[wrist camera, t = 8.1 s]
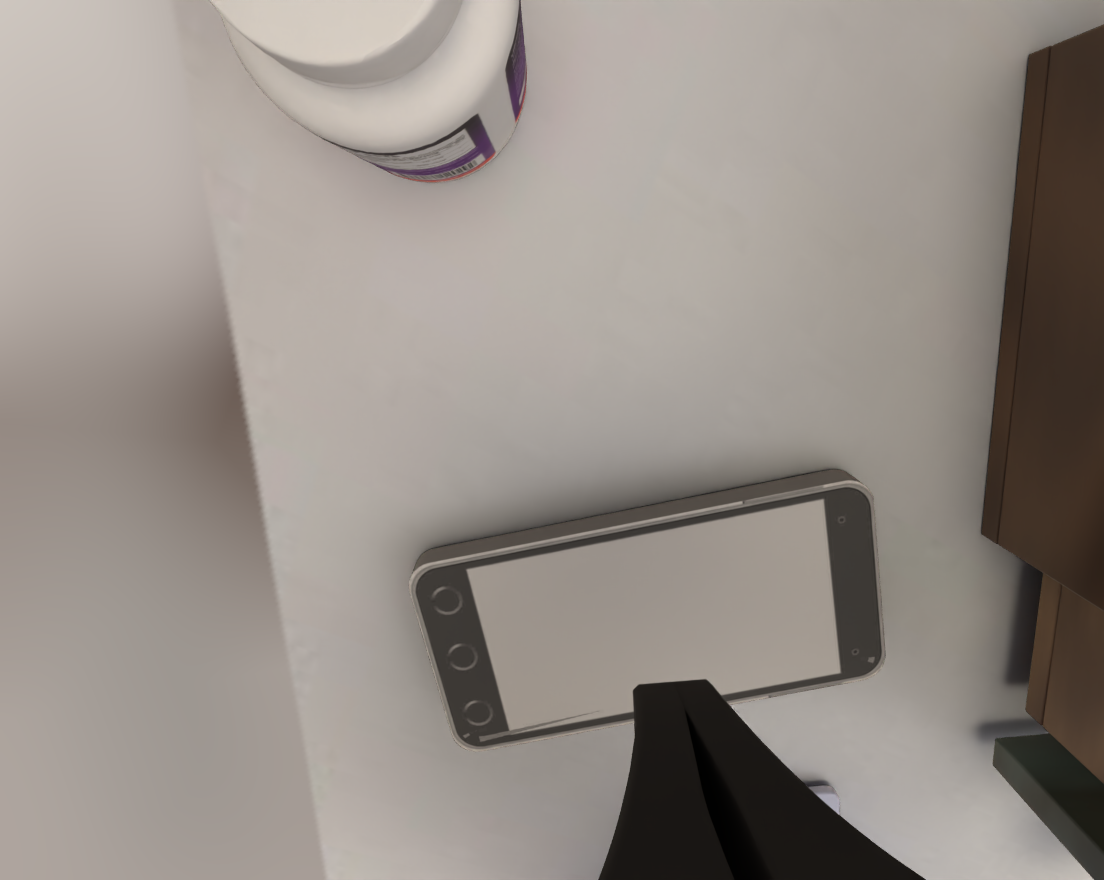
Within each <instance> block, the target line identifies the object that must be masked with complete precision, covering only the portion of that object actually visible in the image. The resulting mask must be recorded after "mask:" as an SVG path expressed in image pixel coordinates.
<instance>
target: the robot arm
mask: <svg viewBox="0 0 1104 880" xmlns="http://www.w3.org/2000/svg"><path fill="white" fill-rule="evenodd" d="M633 707H634V727H635V739H634V746H633V753H632V760H631V767H630V772H629V777H628V782H627V786H626V790H625V795H624V799H623V803H622V808H621V812H620V815H619V819H618V823H617V826H616V830H615V833H614V836H613V839H612V842H611V845H610V849H609V852H608V855H607V858H606V861H605V863H604V866H603V869H602V871H601V874H600V877H599V879H598V880H926V879H924V878H923V877H921V876H920V875H918V874H917V873H915V872H914V871H912V870H911V869H910V868H908V867H907V866H905V865H904V864H902V863H901V862H899V861H898V860H896V859H895V858H894V857H892V856H891V855H890V854H888V853H887V852H886V851H884V850H883V849H881V848H880V847H879V846H877V845H876V844H875V843H873V842H872V841H871V840H870V839H868V838H867V837H866V836H865V835H863V834H862V833H861V832H859V831H858V830H857V829H856V828H854V827H853V826H852V825H851V824H849V823H848V822H847V821H846V820H845V819H843V818H842V817H841V816H840V798H839V796H838V794H837V792H836V791H835V789H834V788H833V787H830V786H825V785H823V786H811V787H807V786H806V785H805V784H804V783H803V782H802V781H801V780H800V779H799V778H798V777H797V776H796V775H795V774H794V773H793V772H792V771H791V770H790V769H789V768H787V767H786V766H785V765H784V764H783V763H782V761H781V760H780V759H779V758H778V757H777V756H776V755H775V754H774V753H773V752H772V751H771V750H770V749H769V748H768V747H767V746H766V745H765V744H764V743H763V742H762V741H761V740H760V739H759V738H758V737H757V736H756V735H755V733H754V732H753V731H752V730H751V729H750V728H749V727H748V726H747V725H746V724H745V722H744V721H743V720H742V719H741V718H740V717H739V716H738V715H737V713H736V712H735V711H734V710H733V709H732V708H731V706H730V705H729V704H728V703H727V702H726V701H725V699H724V698H723V697H722V696H721V695H720V693H719V692H718V691H717V690H716V688H715V687H714V686H713V685H712V684H711V683H710V682H709V681H708V680H707V679H699V680H687V681H674V682H661V683H648V684H638V685H637V686H636V687H635V688H634V689H633Z"/></svg>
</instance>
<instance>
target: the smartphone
mask: <svg viewBox="0 0 1104 880" xmlns="http://www.w3.org/2000/svg"><path fill="white" fill-rule="evenodd" d="M409 593H410V596H411V599H412V603H413V606H414V609H415V613H416V616H417V620H418V623H419V626H420V630H421V633H422V636H423V640H424V643H425V647H426V650H427V653H428V657H429V660H430V663H431V667H432V670H433V674H434V677H435V680H436V684H437V687H438V690H439V694H440V697H441V700H442V704H443V707H444V711H445V714H446V717H447V721H448V724H449V727H450V731H451V734H452V737H453V739H454V741H455V742H456V743H457V744H458V745H459V746H460V747H462V748H464V749H466V750H469V751H474V752H480V751H486V750H492V749H497V748H502V747H508V746H513V745H518V744H524V743H529V742H534V741H540V740H545V739H551V738H556V737H561V736H567V735H572V734H577V733H583V732H588V731H594V730H599V729H604V728H610V727H615V726H620V725H626V724H631V723H634V707H633V689H634V688H635V687H636V686H637V685H638V684H648V683H661V682H674V681H687V680H699V679H707V680H708V681H709V682H710V683H711V684H712V685H713V686H714V687H715V688H716V690H717V691H718V692H719V693H720V695H721V696H722V697H723V698H724V699H725V701H726V702H727V703H728V704H729V705H733V704H738V703H744V702H749V701H755V700H760V699H765V698H771V697H776V696H781V695H787V694H792V693H797V692H803V691H808V690H814V689H819V688H824V687H830V686H835V685H840V684H846V683H851V682H856V681H862V680H866V679H868V678H870V677H872V676H874V675H875V674H876V673H877V672H878V671H879V670H880V669H881V668H882V666H883V664H884V662H885V656H886V654H885V640H884V627H883V614H882V601H881V588H880V575H879V562H878V549H877V536H876V523H875V510H874V498H873V495H872V493H871V491H870V490H869V488H868V487H867V486H865V485H864V484H863V483H861V482H860V481H858V480H857V479H855V478H854V477H853V476H851V475H850V474H848V473H847V472H845V471H842V470H837V469H832V470H826V471H821V472H816V473H811V474H806V475H801V476H796V477H791V478H786V479H781V480H776V481H771V482H766V483H761V484H756V485H751V486H746V487H741V488H736V489H730V490H725V491H720V492H715V493H710V494H705V495H700V496H695V497H690V498H685V499H680V500H675V501H670V502H665V503H660V504H655V505H650V506H645V507H640V508H635V509H630V510H625V511H620V512H615V513H610V514H605V515H600V516H595V517H590V518H585V519H580V520H575V521H570V522H564V523H559V524H554V525H549V526H544V527H539V528H534V529H529V530H524V531H519V532H514V533H509V534H504V535H499V536H494V537H489V538H484V539H479V540H474V541H469V542H464V543H459V544H454V545H449V546H444V547H439V548H434V549H430V550H428V551H426V552H424V553H423V554H422V555H421V556H420V557H419V559H418V560H417V562H416V565H415V567H414V570H413V572H412V575H411V577H410V580H409Z"/></svg>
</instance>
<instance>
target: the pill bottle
mask: <svg viewBox="0 0 1104 880" xmlns="http://www.w3.org/2000/svg"><path fill="white" fill-rule="evenodd" d="M209 1H210V2H211V3H212V5H213V6H214V7H215V8H216V9H217V11H218V12H219V13H220V14H221V17H222V20H223V23H224V25H225V28H226V30H227V33H228V36H229V38H230V41H231V43H232V45H233V47H234V49H235V51H236V53H237V55H238V57H239V58H240V60H241V62H242V64H243V65H244V67H245V69H246V70H247V72H248V73H249V75H250V76H251V77H252V79H253V80H254V81H255V83H256V84H257V85H258V87H259V88H260V89H261V90H262V92H263V93H264V94H265V95H266V96H267V97H268V98H269V99H270V100H271V101H272V102H273V103H274V104H275V105H276V106H277V107H278V108H279V109H280V110H281V111H282V112H284V113H285V114H286V115H287V116H288V117H290V118H291V119H292V120H294V121H295V122H297V123H298V124H300V125H301V126H303V127H304V128H306V129H307V130H309V131H310V132H312V133H314V134H315V135H317V136H319V137H321V138H323V139H324V140H326V141H328V142H330V143H332V144H334V145H336V146H338V147H340V148H342V149H344V150H346V151H348V152H350V153H352V154H354V155H356V156H357V157H359V158H361V159H363V160H365V161H367V162H369V163H372V164H374V165H376V166H377V167H379V168H382V169H384V170H386V171H387V172H389V173H391V174H394V175H397V176H400V177H402V178H406V179H410V180H414V181H419V182H428V183H437V182H448V181H453V180H457V179H460V178H463V177H466V176H468V175H470V174H472V173H474V172H476V171H478V170H479V169H481V168H482V167H484V166H485V165H487V164H488V163H489V162H490V161H491V160H492V159H494V158H495V157H496V156H497V155H498V153H499V152H500V151H501V150H502V149H503V148H504V146H505V145H506V144H507V142H508V141H509V139H510V137H511V136H512V134H513V132H514V130H515V128H516V125H517V123H518V120H519V117H520V114H521V111H522V108H523V103H524V98H525V92H526V79H527V68H526V56H525V46H524V36H523V26H522V14H521V0H209Z"/></svg>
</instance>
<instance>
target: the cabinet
mask: <svg viewBox="0 0 1104 880" xmlns="http://www.w3.org/2000/svg"><path fill="white" fill-rule="evenodd" d="M982 535H984V536H985V537H987V538H988V539H990V540H991V541H993V542H995V543H996V544H999V545H1000V546H1002V547H1003V548H1005V549H1006V550H1008V551H1009V552H1011V553H1013V554H1014V555H1016V556H1017V557H1019V558H1020V559H1022V560H1024V561H1025V562H1027V563H1028V564H1030V565H1031V566H1033V567H1035V568H1036V569H1038V570H1039V571H1041V572H1042V573H1044V574H1046V575H1047V576H1049V577H1050V578H1052V579H1053V580H1055V581H1057V582H1058V583H1060V584H1061V585H1063V586H1065V587H1066V588H1068V589H1069V590H1071V591H1072V592H1074V593H1076V594H1077V595H1079V596H1080V597H1082V598H1083V599H1085V600H1087V601H1088V602H1090V603H1091V604H1093V605H1094V606H1096V607H1098V608H1099V609H1101V610H1102V611H1104V25H1101V26H1099V27H1096V28H1094V29H1091V30H1089V31H1086V32H1084V33H1082V34H1079V35H1077V36H1074V37H1072V38H1069V39H1067V40H1064V41H1062V42H1059V43H1057V44H1055V45H1053V46H1049V47H1046V48H1044V49H1041V50H1039V51H1036V52H1034V53H1031V54H1030V55H1029V62H1028V72H1027V82H1026V92H1025V102H1024V112H1023V122H1022V132H1021V142H1020V152H1019V162H1018V172H1017V183H1016V193H1015V203H1014V213H1013V223H1012V233H1011V243H1010V253H1009V263H1008V273H1007V283H1006V293H1005V303H1004V313H1003V323H1002V334H1001V344H1000V354H999V364H998V374H997V384H996V394H995V404H994V414H993V424H992V434H991V444H990V454H989V464H988V474H987V485H986V495H985V505H984V515H983V525H982Z"/></svg>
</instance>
